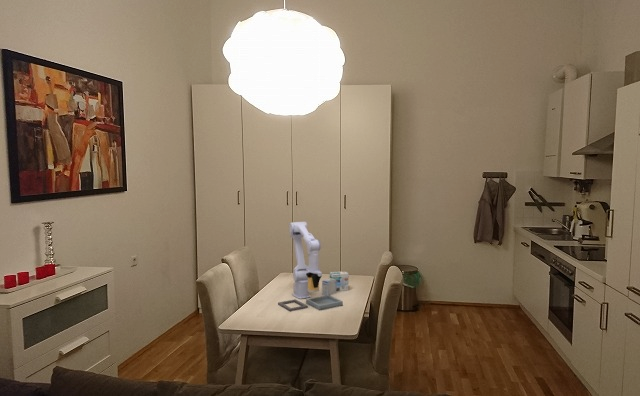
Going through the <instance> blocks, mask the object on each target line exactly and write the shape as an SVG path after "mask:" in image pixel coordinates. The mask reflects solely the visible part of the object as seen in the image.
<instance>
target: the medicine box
mask: <svg viewBox="0 0 640 396" xmlns="http://www.w3.org/2000/svg"><path fill="white" fill-rule="evenodd" d="M321 285H322V286H321V294H322V295H321V296H326V295H330V296H332V295H334V294H336V293H337V291H336V279H332V278H330V277H329V278H326V279H323V280H322V281H321Z"/></svg>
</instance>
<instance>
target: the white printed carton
mask: <svg viewBox="0 0 640 396" xmlns="http://www.w3.org/2000/svg"><path fill="white" fill-rule="evenodd" d="M349 276H350V275H349V272H347V271H345V270H344V271H329V278H332V279H336V292H345V291H346V292H348V291H349V279H350V278H349Z"/></svg>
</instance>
